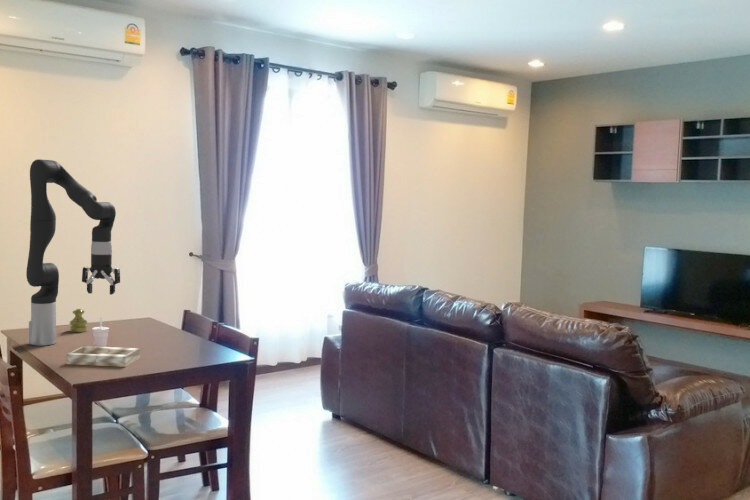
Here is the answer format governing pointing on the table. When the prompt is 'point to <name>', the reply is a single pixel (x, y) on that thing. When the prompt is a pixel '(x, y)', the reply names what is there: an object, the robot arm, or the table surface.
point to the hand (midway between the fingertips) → (101, 293)
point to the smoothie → (100, 335)
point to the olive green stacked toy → (78, 322)
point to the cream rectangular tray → (103, 356)
